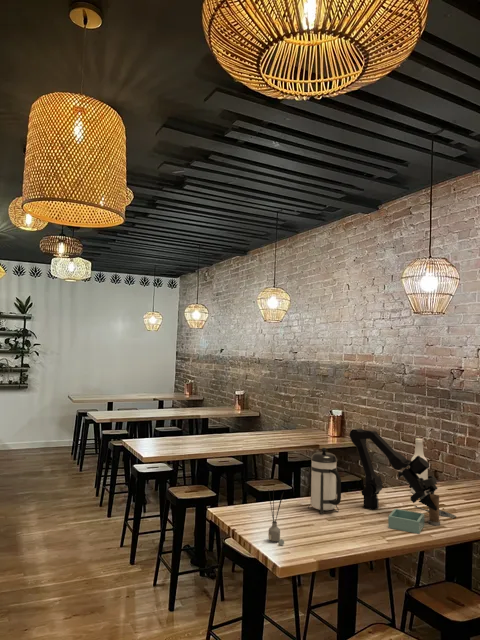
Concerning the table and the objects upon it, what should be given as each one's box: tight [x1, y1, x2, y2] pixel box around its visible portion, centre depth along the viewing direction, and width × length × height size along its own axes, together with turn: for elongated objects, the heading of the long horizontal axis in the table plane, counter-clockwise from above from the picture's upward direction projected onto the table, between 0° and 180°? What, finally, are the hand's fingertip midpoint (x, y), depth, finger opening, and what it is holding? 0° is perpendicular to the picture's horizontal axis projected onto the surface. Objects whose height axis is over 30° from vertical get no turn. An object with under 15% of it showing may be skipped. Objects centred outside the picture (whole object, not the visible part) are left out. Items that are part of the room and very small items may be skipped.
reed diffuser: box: [267, 489, 285, 546], centre depth 195 cm, size 10×7×20 cm
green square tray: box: [387, 508, 425, 535], centre depth 215 cm, size 13×13×5 cm
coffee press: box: [307, 447, 342, 515], centre depth 235 cm, size 17×16×30 cm
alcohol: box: [410, 437, 429, 495], centre depth 270 cm, size 9×9×30 cm
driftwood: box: [414, 505, 457, 519], centre depth 237 cm, size 21×7×2 cm, turn 29°
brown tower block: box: [427, 493, 441, 527], centre depth 220 cm, size 5×5×13 cm
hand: (437, 509), depth 219 cm, fingers closed on brown tower block
